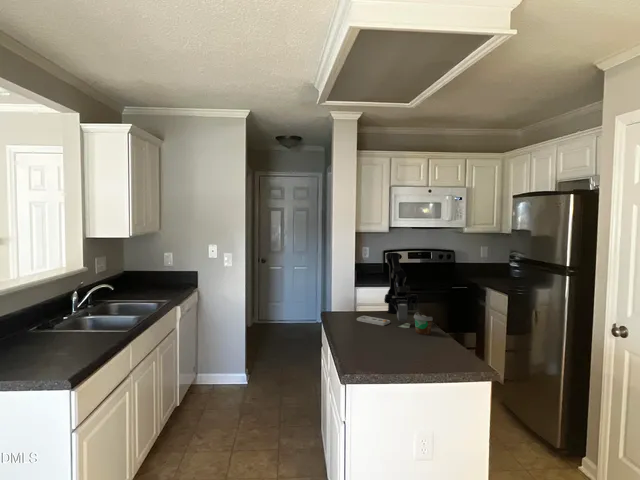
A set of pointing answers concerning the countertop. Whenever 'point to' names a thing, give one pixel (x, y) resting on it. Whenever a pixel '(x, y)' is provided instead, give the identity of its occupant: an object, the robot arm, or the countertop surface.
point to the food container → (423, 324)
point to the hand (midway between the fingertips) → (402, 311)
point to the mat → (404, 325)
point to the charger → (402, 312)
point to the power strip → (373, 320)
